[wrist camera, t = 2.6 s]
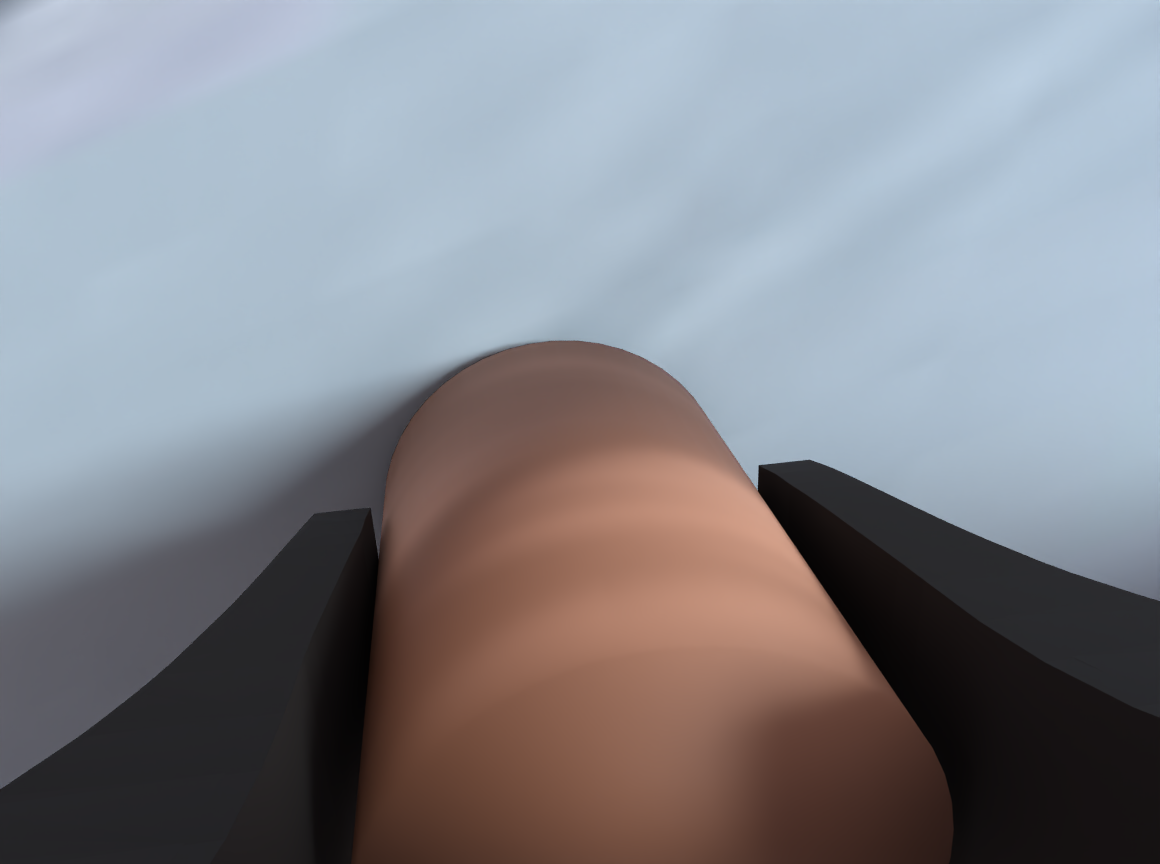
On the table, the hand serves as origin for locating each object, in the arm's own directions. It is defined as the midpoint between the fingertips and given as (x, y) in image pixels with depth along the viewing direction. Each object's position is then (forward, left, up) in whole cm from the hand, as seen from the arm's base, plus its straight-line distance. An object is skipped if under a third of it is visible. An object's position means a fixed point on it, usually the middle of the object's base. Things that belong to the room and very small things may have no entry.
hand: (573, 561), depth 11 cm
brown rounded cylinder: (0, 0, -1) cm, 1 cm away
